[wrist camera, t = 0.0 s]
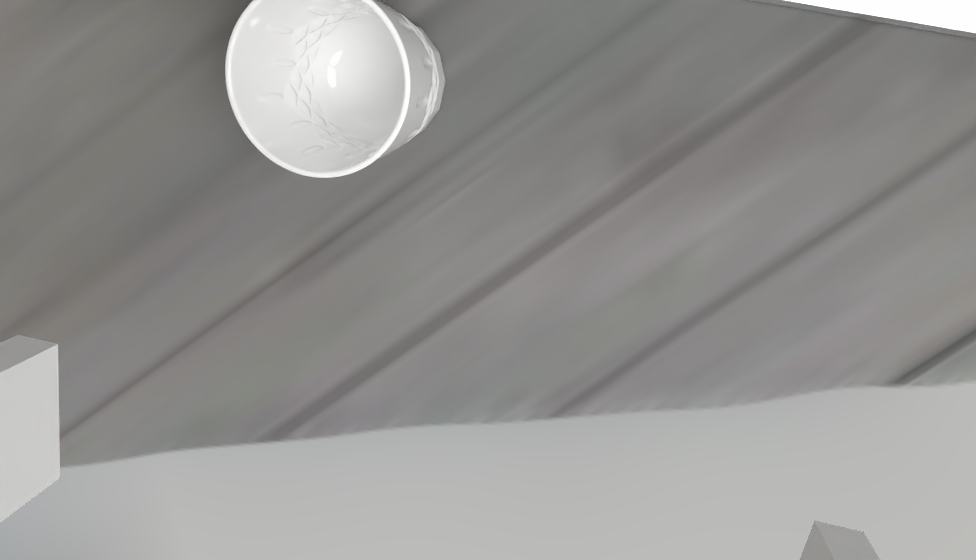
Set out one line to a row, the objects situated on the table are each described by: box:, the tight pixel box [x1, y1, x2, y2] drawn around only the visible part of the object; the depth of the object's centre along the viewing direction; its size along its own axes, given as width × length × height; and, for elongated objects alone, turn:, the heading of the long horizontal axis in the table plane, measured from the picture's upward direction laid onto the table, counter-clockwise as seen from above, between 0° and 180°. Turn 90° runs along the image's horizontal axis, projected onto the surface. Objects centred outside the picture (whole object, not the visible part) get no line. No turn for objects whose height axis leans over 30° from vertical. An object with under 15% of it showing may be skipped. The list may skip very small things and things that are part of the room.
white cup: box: [225, 0, 445, 178], centre depth 33 cm, size 8×8×10 cm
